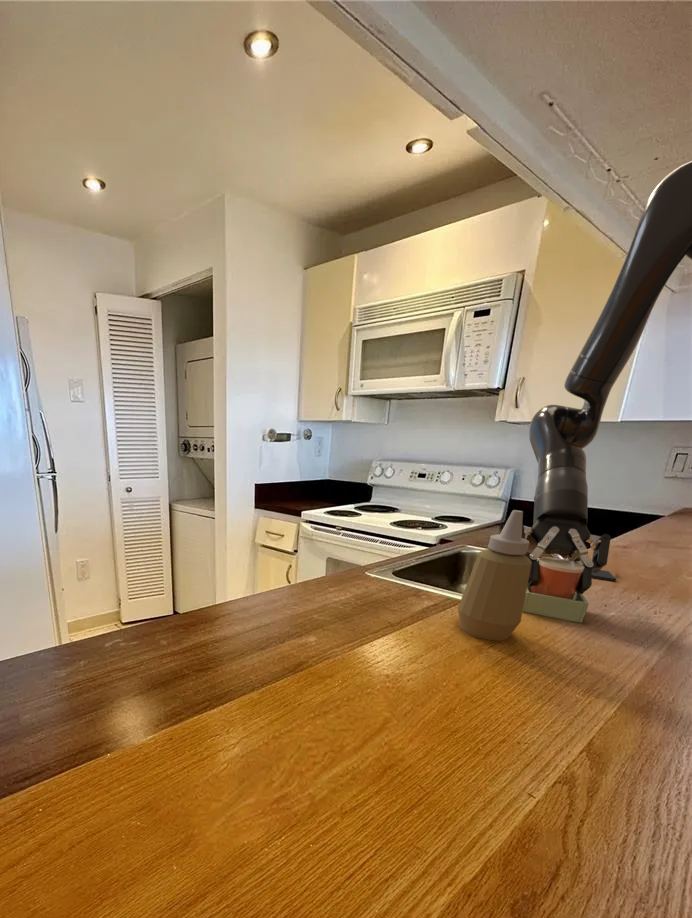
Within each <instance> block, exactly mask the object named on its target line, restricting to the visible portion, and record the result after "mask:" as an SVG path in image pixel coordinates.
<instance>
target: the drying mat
mask: <svg viewBox="0 0 692 918" xmlns="http://www.w3.org/2000/svg"><path fill="white" fill-rule="evenodd" d="M592 579H596V580H603V581H609V582H616V581H617V578H616V577H615V576H614V575H613V574H612V573H611V572H610V571H609V570H602V569H601V570H600V571H599V572H597V573H594V572H592Z"/></svg>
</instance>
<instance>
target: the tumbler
mask: <svg viewBox="0 0 692 918" xmlns="http://www.w3.org/2000/svg"><path fill="white" fill-rule="evenodd" d="M538 561H539V573H538V582H537V583H536V584H535V586H531V589H530V592H531V593H537V594H542V595H548V596H554V597H559V598H565V599H570V600H573V597H574V595H575V592H576V589H577V586H578V583H579V580H580V577H581V575H582V572H583V571H584V568H585V567H584V566H583V565H581V564H579V563H576V562H573V561H569V559H564V558H559V557H549V556H547V557H546V556H544V557H539V558H538Z"/></svg>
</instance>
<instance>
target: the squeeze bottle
mask: <svg viewBox="0 0 692 918" xmlns="http://www.w3.org/2000/svg"><path fill="white" fill-rule="evenodd" d="M523 518H524V511H523V510H517V509H513V510H512V511H511V512H510V515H509V517H508V518H507V520H506V522H505V524H504V525H503V528H502V530H501V531H500V533H499V534H498V533H497V534H491V535H490V538H489V541H488V545H487V548H486V549H483V550H481V551H479V552H478V554H477V557H476V559H475V562H474V565H473V567H472V569H471V572H470V574H469V578H468V579H467V583H466V586H465V587H464V591H463V593H462V596H461V599H460V601H459V604H458V607H457V613H458V621H459V626H460V628H461V630H462V631H463V632H465V633H467V634H468V635H471V636H473V637H476V638H478V639H483V640H487V641H496V642H497V641H505V640H507V639H508V638H509V637H510V636H511V635H512V634H513V633H514V631H515V630H516V628H517V627H518V626H519V625H520V624H521V622H522V618H523V617H522V616H523V613H524V612H523V606H524V601H525V596H526V590H527V585H528V580H529V575H530V569H531V560H530V559H529V558H528V557H526V556H525V555H524V554H526V553H527V552H528V550H529V547H530V541H529V540H528V539H527V538H526V539H523V538H522V524H523Z"/></svg>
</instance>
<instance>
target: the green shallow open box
mask: <svg viewBox="0 0 692 918" xmlns="http://www.w3.org/2000/svg"><path fill="white" fill-rule="evenodd" d="M530 589H531V586H529V585H527V590H526V596H525V601H524V606H523V612H522V613H529V614H534V615H540V616H545V617H550V618H556V619H561V620H565V621H570V622H574V623H575V622H577V623H583V622H584V617H585V615H586V613H587V610H588V608H589V604H590V603H589V602H588V600H587V599H586V598H585V596H584V595H583V594H579V593H576V592H575V595H574V597H573V600H570V599H565V598H559V597H554V596H548V595H542V594H537V593H531V592H530Z"/></svg>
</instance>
